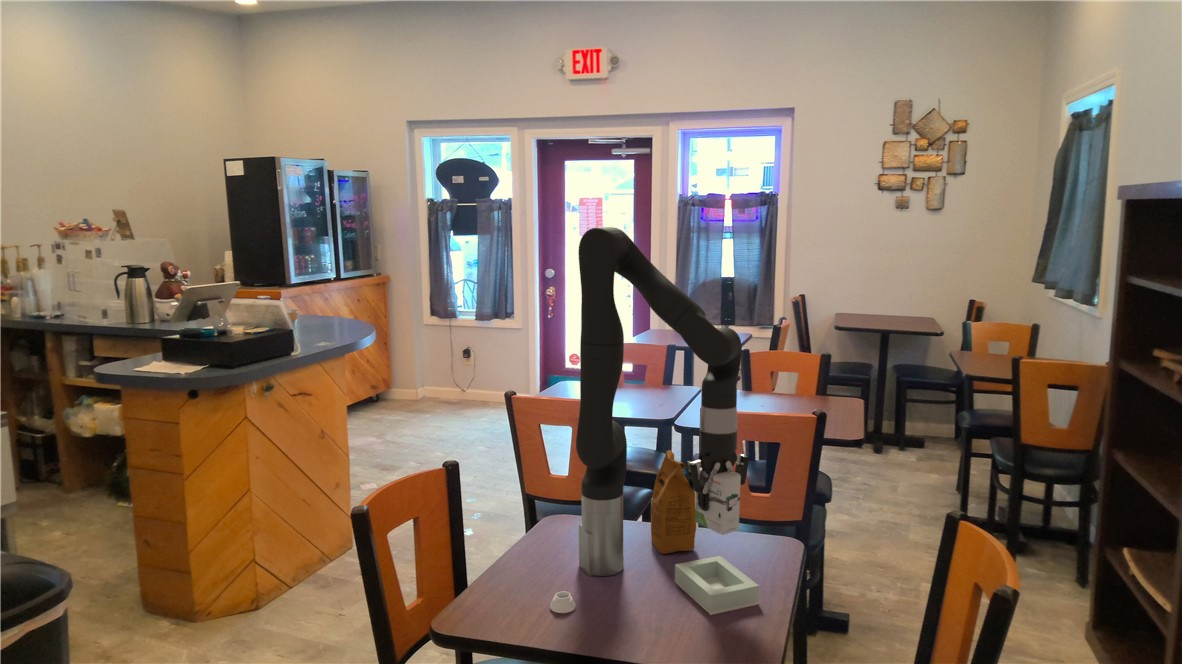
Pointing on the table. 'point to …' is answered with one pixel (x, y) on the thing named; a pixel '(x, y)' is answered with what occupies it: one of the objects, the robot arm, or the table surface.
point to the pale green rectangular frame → (716, 585)
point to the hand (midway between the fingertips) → (716, 507)
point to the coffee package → (672, 508)
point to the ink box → (721, 503)
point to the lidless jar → (562, 603)
